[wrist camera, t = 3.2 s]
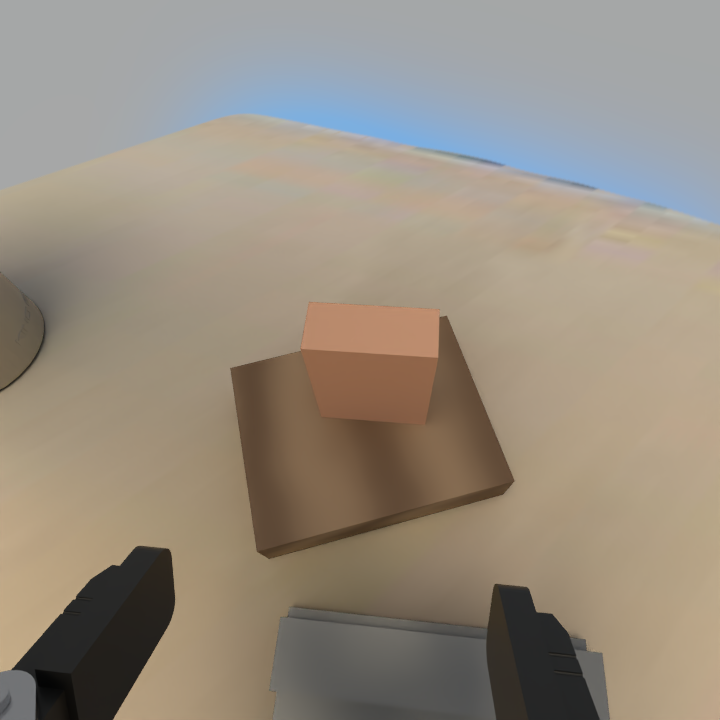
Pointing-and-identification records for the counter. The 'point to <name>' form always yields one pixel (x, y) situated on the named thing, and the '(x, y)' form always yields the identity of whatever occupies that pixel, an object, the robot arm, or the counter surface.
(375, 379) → the tile
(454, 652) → the rack
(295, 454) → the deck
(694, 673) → the counter surface
